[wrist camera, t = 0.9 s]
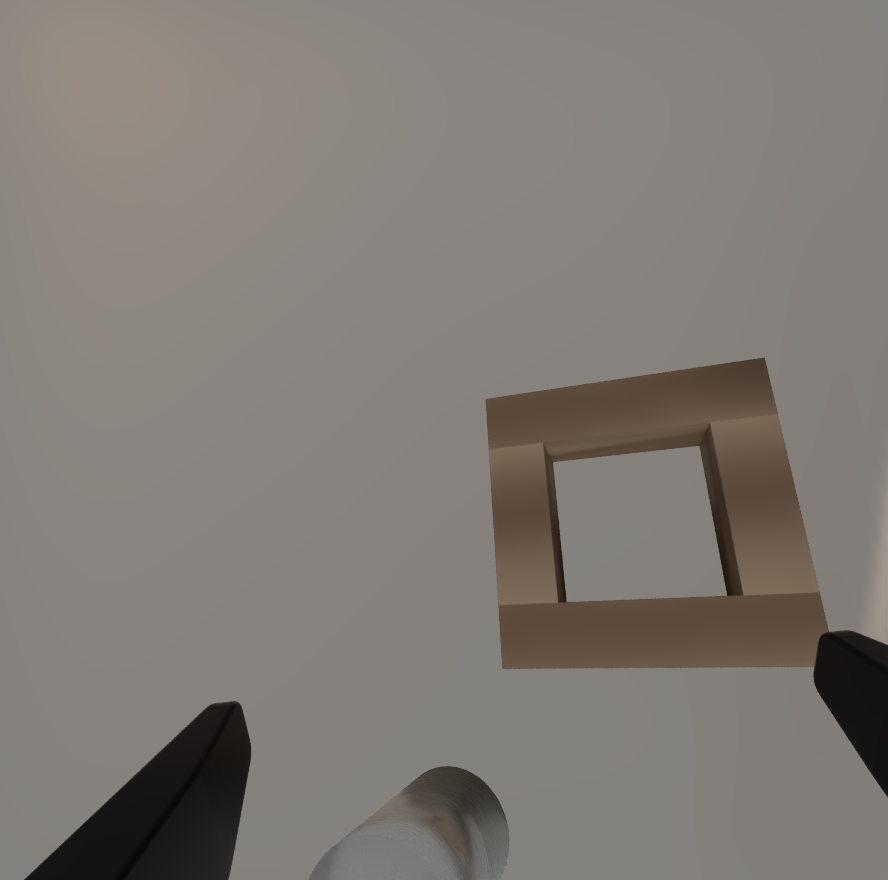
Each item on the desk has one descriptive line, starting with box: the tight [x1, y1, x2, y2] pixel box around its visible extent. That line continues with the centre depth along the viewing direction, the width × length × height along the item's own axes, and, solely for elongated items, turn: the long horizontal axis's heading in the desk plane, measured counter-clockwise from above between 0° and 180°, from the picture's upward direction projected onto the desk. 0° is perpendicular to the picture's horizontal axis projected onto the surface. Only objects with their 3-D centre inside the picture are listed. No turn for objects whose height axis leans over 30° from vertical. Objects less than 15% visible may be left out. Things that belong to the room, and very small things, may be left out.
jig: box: [486, 358, 829, 669], centre depth 20 cm, size 10×10×3 cm
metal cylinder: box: [309, 766, 509, 880], centre depth 17 cm, size 4×4×7 cm
